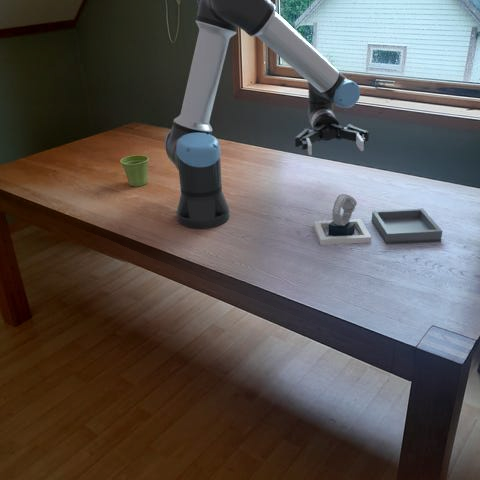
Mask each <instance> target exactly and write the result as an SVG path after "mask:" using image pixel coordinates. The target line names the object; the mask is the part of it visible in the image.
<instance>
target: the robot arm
mask: <svg viewBox="0 0 480 480" xmlns="http://www.w3.org/2000/svg"><path fill="white" fill-rule="evenodd" d="M196 3H197V7H198V8H197V9H198V10H197V13H196V19H195V23H196V25H197V27H198V30H199V31H198V34H197V40H196V44H195V49H194V53H193V57H192V61H191V65H190V69H189V75H188V80H187V83H186V88H185V92H184V93H185V94H184V96H183V97H184V98H183V101H182V107H181V110H180V114H179V115H178V116H177V117H175V118H173V121H172V126H171V129H170V130H169V132H168V133H167V135H166V137H165V141H164V149H165V151H166V152H165V153H166V155H167V157H168V159H169V160H170V162H172V163H173V165H174V166H175V168H176V169H177V170H178V175H179V187H180V197H179V201H178V205H177V208H176V209H177V210H176V219H177V222H178V223H179V224H180V225H182V226H184V227H187V228H192V229H208V228H213V227H217V226H220V225H222V224H224V223H225V222H227V221H229V219H230V208H229V205H228V202H227V200H226V197H225V194H224V193H223V186H222V185H223V184H222V168H221V147H220V142H219V140H218V139H217V137H215V136H214V135H212V133H213V128H212V125H211V124H210V120H211V116H212V112H213V108H214V103H215V100H216V95H217V92H218V87H219V84H220V80H221V79H220V78H221V75H222V70H223V68H224V67H223V66H224V63H225V59H226V56H227V50H228V47H229V42H230V40H231V38H232V37H233V36H235V35H236V34H237V33H238V29H241V30H242V31H244V32H245V33H246V34H247V35H249V37H257V38H258V39H259V40H260V41H261V42H263V44H265V45H266V46H267V47H268V48H270V50H271V51H273V52H274V53H275V54H276V55H277V56H279V58H281V60H283V61H284V62H285V63H286V64H288V65H289V66H290V67H291V68H292V69H293V70H295V72H296V73H298V74H299V75H300V76H301V77H302V78H304V80H306V81H307V88H308V110H307V118H308V121H309V123H310V125H311V127H312V129H310V128H309V127H304V128H303V130H302V131H301V132H300V133H299V134H298V135H296V136H295V137H294V143H295V144H294V145H295V148H296V147H297V148H298V147H300V146H301V149H302V150H303V151H304V150H307V153H308V156H313V154H312V153H313V147H312V146H313V145H312V144H313V143H314V144H315V143H316V142H320V141H324V142H328V141H331V140H334V139H337V140H343V139H344V140H348V141H352V142H355V144H356V146H357V148H358V149H359V150H360V152H363V151H365V149H364V148H365V147H364V145H365V144H366V142H369V141H370V140H369V139H370V138H369V137H370V136H369V134H370V131H368V130H366V129H363V128H359V127H358V126H354V125H353V124H351V123H347V125H346V126H342V125H340V123H339V120H338V118H337V117H336V116H335V113H334V105H335V106H337V107H338V108H344V109H349V108H352V107H353V106H355V105H356V104H357V103H358V102H359V99H360V96H361V89H360V86H359V84H357V83H356V82H355V81H353V80H352V79H348V78H347V77H345V75H344V74H343V73H342V72H340V71H339V70H338V69H337V68H336V67H335V66H334V65H333V64H332V63H331V62H329V60H328V59H327V58H325V57H324V56H323V55H322V53H320V52H319V51H318V50H317V49H316V48H315V47H314V46H313V45H312V44H311V43H309V42H308V41H307V40H306V39H305V38H304V37H303V36H302V35H301V34H300V33H299V32H298V31H297V30H296V29H295V28H293V26H291V24H289V22H287V20H285V19H284V18H283V17H282V15H280V14H278V12H276V5H275V4H274V3H273V1H271V0H196Z"/></svg>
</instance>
